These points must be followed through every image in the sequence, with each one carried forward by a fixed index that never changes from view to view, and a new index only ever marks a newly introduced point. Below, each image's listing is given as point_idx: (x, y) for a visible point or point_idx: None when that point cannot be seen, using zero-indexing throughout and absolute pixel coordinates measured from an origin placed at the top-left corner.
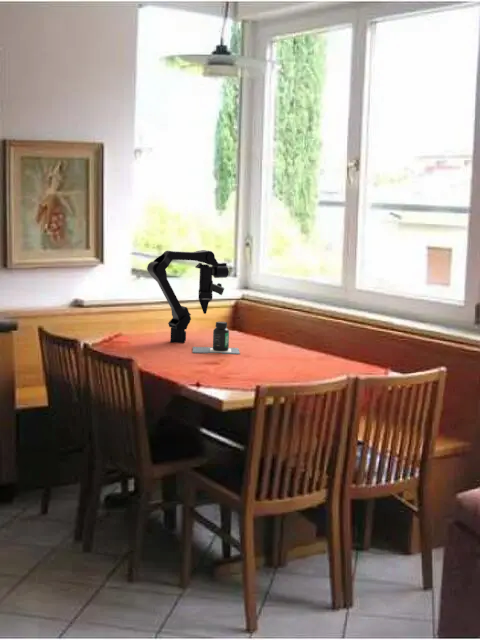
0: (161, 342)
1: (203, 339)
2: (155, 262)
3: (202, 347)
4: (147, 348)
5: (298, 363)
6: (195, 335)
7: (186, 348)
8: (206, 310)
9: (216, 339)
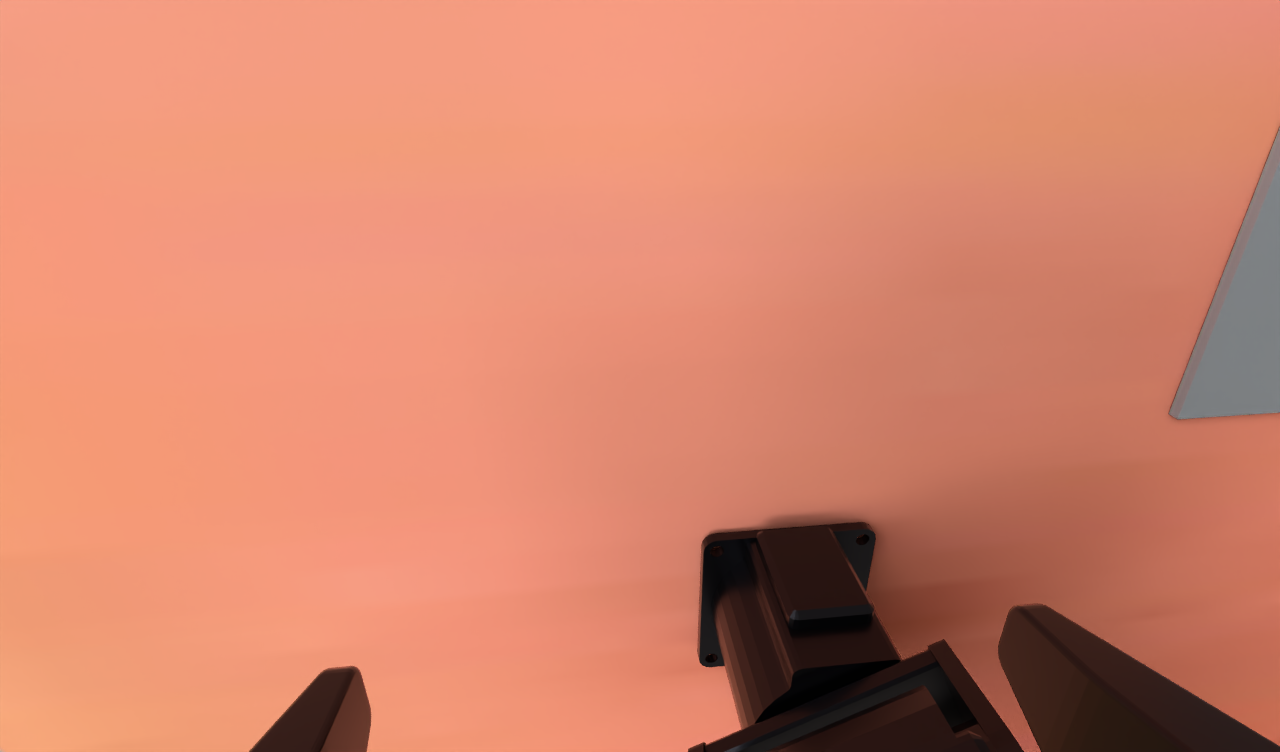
0: None
1: (534, 323)
2: None
3: (1248, 308)
4: None
5: None
6: (201, 449)
7: (1192, 470)
8: (1155, 679)
9: None
